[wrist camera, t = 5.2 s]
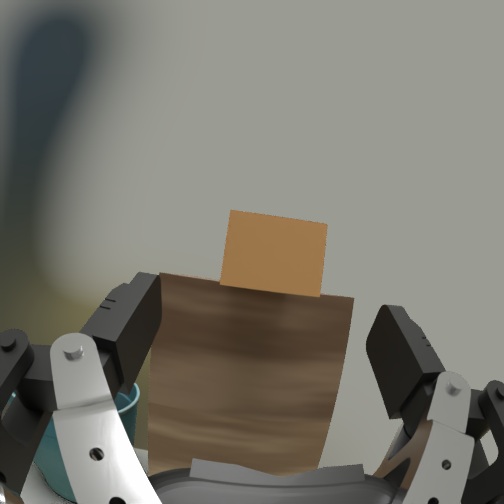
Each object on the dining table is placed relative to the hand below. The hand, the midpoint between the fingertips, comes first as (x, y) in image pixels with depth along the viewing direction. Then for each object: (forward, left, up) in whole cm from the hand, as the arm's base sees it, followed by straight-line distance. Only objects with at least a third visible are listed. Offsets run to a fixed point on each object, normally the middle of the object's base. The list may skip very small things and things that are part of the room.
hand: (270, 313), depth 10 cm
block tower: (-5, +15, -31) cm, 35 cm away
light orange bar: (-4, +12, +1) cm, 13 cm away
